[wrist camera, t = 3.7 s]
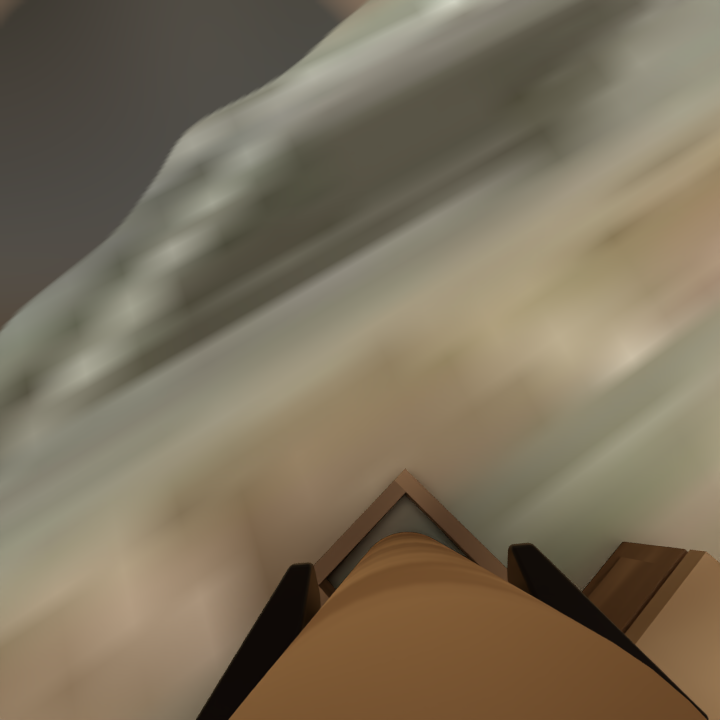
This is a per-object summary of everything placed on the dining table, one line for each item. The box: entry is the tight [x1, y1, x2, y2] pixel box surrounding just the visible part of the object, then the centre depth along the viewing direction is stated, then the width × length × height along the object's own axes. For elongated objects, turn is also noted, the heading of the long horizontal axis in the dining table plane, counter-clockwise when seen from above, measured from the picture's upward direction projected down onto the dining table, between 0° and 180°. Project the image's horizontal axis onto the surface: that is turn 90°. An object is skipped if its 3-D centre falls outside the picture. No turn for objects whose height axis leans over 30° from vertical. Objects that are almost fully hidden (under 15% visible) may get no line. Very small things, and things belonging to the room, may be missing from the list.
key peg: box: [229, 532, 707, 720], centre depth 9 cm, size 4×4×14 cm
